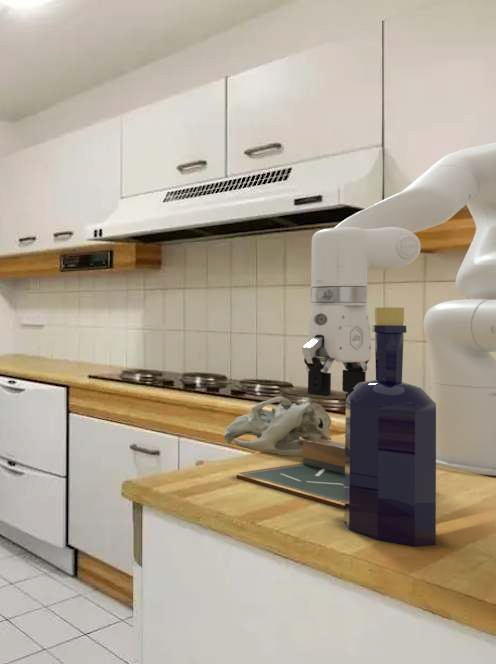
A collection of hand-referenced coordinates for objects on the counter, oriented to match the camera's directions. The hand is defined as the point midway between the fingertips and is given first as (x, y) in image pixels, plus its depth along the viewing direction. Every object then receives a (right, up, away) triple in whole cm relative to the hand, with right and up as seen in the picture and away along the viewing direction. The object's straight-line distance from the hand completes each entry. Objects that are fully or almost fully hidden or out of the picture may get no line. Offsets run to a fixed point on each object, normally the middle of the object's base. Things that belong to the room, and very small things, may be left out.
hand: (336, 393), depth 97 cm
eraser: (+1, -14, +1) cm, 14 cm away
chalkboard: (-6, -15, -5) cm, 17 cm away
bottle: (-15, -15, -24) cm, 32 cm away
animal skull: (+1, -15, +15) cm, 21 cm away
